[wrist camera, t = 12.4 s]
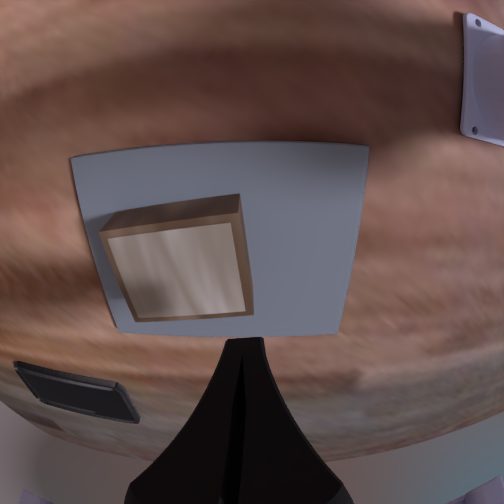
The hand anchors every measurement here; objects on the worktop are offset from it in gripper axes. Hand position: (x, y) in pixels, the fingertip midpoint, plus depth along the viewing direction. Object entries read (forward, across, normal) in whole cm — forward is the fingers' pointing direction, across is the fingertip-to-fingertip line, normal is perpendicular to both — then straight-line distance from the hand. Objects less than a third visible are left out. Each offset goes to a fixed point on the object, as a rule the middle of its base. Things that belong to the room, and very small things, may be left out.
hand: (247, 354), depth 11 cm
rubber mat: (+8, +2, 0) cm, 8 cm away
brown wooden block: (+6, 0, -1) cm, 6 cm away
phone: (+8, +22, +16) cm, 28 cm away
